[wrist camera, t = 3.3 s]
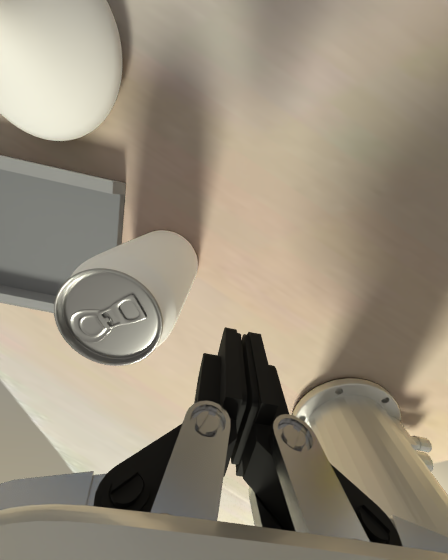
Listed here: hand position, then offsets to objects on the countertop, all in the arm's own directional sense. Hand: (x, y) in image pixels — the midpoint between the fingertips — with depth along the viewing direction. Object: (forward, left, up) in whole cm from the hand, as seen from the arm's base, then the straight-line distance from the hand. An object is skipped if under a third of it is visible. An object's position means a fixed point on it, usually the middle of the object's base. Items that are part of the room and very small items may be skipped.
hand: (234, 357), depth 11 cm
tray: (+18, 0, -14) cm, 22 cm away
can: (+7, 0, -14) cm, 15 cm away
